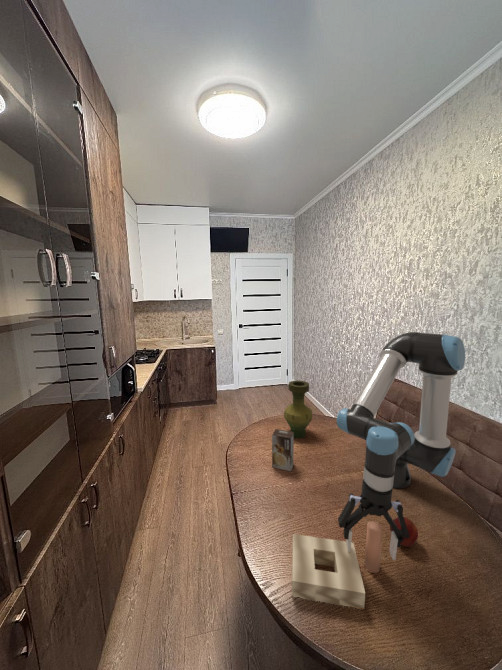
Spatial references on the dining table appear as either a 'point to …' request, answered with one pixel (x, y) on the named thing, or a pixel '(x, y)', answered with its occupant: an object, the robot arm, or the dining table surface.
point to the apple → (411, 529)
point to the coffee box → (282, 449)
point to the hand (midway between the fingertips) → (369, 551)
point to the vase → (298, 409)
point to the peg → (373, 546)
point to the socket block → (326, 572)
